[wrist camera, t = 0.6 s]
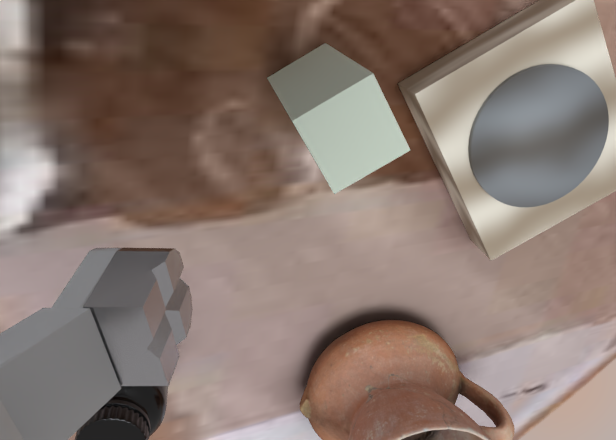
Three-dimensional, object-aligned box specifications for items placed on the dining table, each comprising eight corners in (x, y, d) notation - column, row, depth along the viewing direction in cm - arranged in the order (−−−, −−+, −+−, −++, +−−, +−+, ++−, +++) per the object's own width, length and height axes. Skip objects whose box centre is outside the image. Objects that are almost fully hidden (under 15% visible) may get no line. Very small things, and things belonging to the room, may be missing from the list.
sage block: (266, 77, 43) (292, 121, 31) (325, 42, 43) (373, 73, 31) (299, 134, 45) (334, 194, 33) (355, 101, 45) (410, 150, 33)
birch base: (397, 83, 45) (417, 96, 41) (559, -12, 44) (596, -9, 40) (470, 239, 52) (494, 264, 48) (611, 160, 51) (648, 178, 47)
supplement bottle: (180, 317, 50) (175, 416, 39) (161, 380, 52) (150, 490, 41) (98, 301, 48) (69, 400, 37) (81, 367, 50) (49, 478, 39)
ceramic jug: (284, 436, 57) (313, 573, 45) (288, 312, 51) (322, 429, 39) (455, 416, 61) (526, 539, 48) (476, 297, 55) (565, 401, 42)
